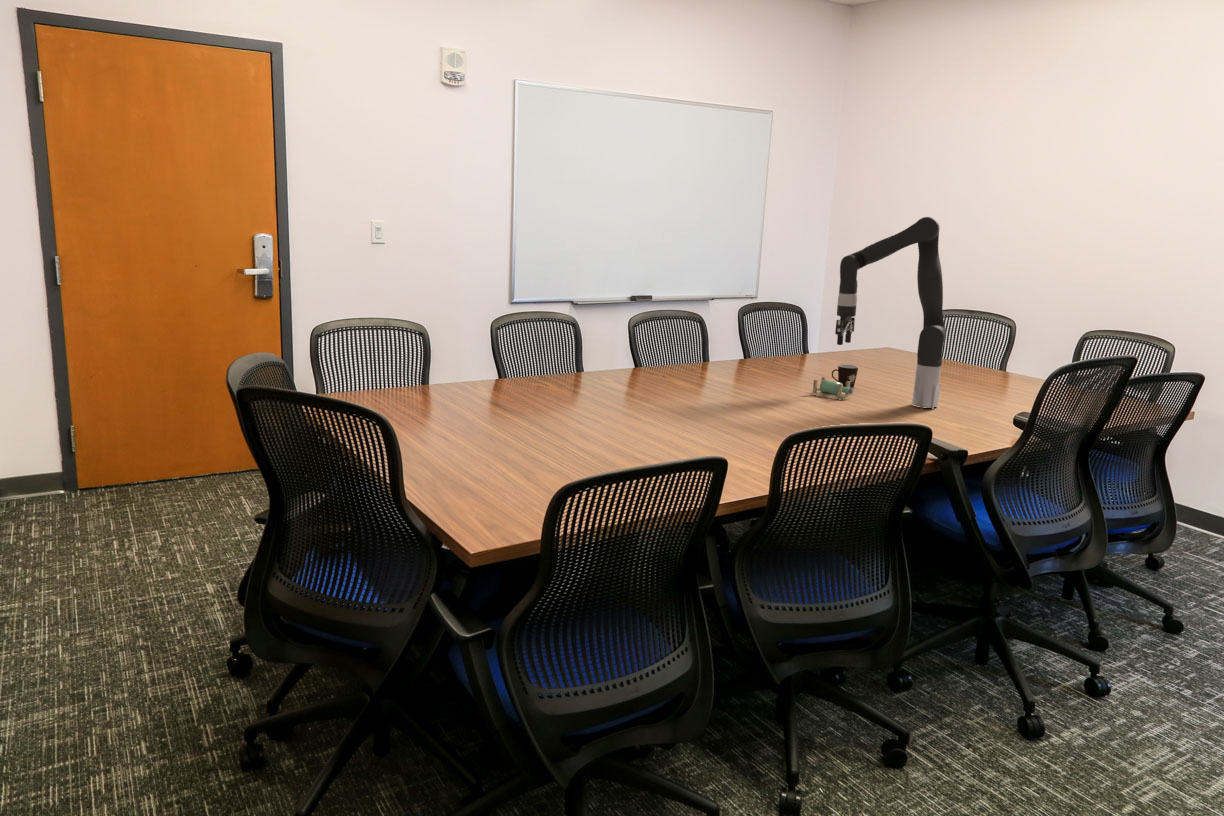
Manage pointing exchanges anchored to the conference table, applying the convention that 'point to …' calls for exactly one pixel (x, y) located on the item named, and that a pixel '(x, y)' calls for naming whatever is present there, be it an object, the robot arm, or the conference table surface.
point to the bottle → (833, 387)
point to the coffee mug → (846, 374)
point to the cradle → (839, 396)
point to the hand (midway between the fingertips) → (843, 343)
